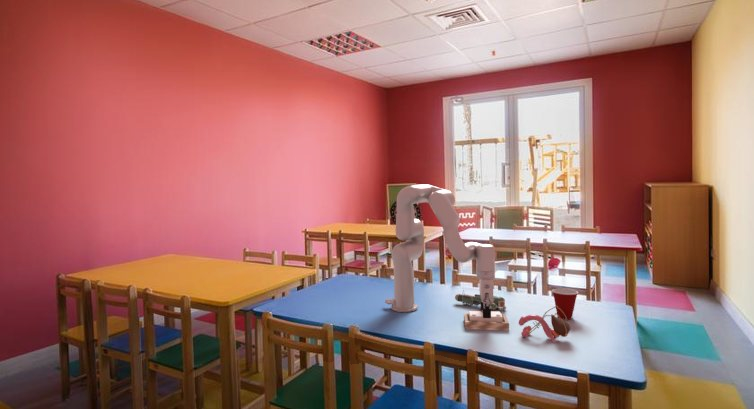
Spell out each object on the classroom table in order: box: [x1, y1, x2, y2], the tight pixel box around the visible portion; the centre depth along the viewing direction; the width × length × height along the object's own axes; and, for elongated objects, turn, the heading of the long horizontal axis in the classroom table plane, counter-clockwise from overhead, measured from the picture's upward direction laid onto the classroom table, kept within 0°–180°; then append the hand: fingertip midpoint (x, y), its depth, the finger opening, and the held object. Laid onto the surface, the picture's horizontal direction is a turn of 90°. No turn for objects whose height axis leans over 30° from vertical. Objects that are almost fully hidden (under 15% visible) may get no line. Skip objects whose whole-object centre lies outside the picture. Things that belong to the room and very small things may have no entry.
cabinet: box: [463, 312, 510, 331], centre depth 180 cm, size 17×11×3 cm, turn 81°
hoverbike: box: [454, 290, 507, 312], centre depth 203 cm, size 10×25×8 cm, turn 58°
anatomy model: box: [518, 306, 571, 344], centre depth 165 cm, size 11×15×17 cm
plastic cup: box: [551, 288, 579, 320], centre depth 187 cm, size 11×11×12 cm
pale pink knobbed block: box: [468, 310, 503, 322], centre depth 180 cm, size 13×6×4 cm, turn 84°
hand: (485, 313), depth 179 cm, fingers open, 9 cm apart
